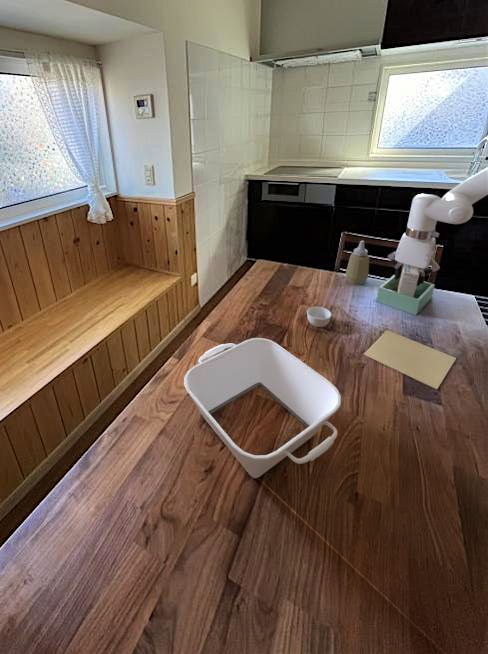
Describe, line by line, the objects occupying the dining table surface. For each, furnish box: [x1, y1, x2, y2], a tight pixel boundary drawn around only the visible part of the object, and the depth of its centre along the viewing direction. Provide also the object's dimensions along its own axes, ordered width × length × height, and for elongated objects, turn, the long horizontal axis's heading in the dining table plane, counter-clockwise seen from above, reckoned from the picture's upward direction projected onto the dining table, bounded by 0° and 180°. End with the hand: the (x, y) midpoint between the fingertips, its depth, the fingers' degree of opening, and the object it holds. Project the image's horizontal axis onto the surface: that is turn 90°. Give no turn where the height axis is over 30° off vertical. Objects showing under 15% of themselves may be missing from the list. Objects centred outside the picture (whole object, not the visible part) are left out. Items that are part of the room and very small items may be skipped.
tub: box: [183, 337, 342, 479], centre depth 75 cm, size 34×27×13 cm
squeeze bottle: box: [345, 240, 370, 286], centre depth 131 cm, size 8×8×18 cm
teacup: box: [306, 306, 332, 328], centre depth 110 cm, size 10×10×5 cm
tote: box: [375, 274, 435, 316], centre depth 119 cm, size 13×15×6 cm
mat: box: [363, 329, 457, 390], centre depth 94 cm, size 18×16×1 cm
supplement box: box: [396, 263, 420, 298], centre depth 117 cm, size 8×5×13 cm, turn 149°
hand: (408, 280), depth 117 cm, fingers closed on supplement box, 6 cm apart
